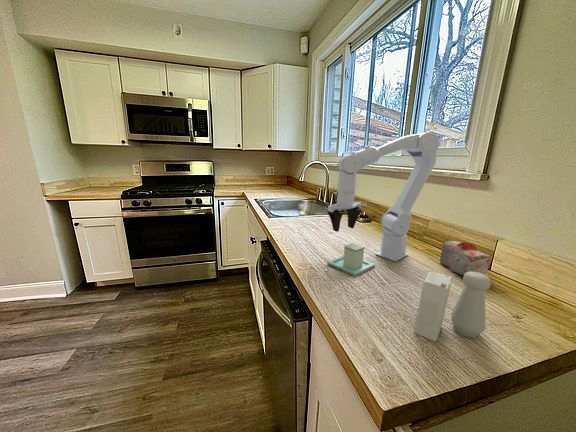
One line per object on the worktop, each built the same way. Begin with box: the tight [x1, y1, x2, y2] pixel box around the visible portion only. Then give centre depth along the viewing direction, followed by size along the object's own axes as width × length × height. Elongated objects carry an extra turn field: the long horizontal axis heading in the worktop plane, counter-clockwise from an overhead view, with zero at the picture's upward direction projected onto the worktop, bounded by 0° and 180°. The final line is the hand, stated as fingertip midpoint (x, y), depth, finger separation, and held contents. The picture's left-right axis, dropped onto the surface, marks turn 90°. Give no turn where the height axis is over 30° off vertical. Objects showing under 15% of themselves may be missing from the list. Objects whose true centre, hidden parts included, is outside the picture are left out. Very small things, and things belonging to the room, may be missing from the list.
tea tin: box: [343, 242, 365, 270], centre depth 78 cm, size 5×5×7 cm
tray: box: [326, 255, 376, 278], centre depth 79 cm, size 11×11×1 cm
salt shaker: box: [450, 272, 492, 339], centre depth 48 cm, size 6×6×13 cm
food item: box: [439, 240, 492, 277], centre depth 76 cm, size 14×8×10 cm, turn 5°
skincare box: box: [413, 271, 453, 342], centre depth 48 cm, size 6×4×12 cm
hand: (343, 229), depth 85 cm, fingers open, 7 cm apart
